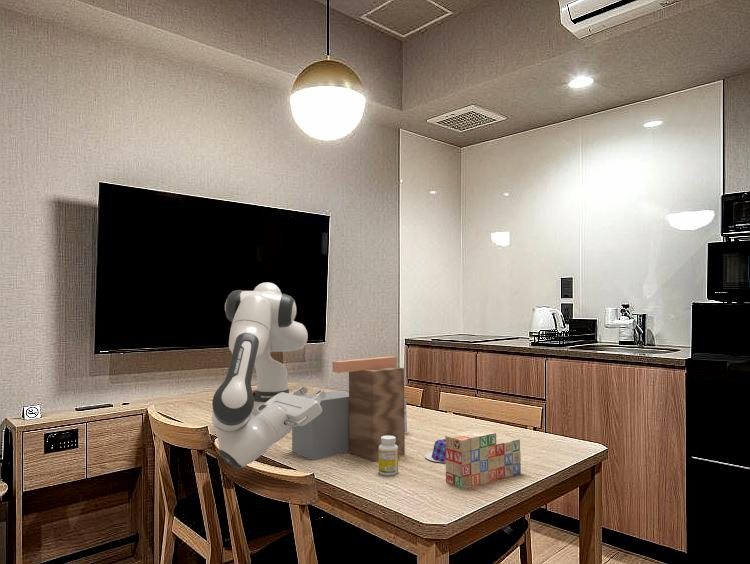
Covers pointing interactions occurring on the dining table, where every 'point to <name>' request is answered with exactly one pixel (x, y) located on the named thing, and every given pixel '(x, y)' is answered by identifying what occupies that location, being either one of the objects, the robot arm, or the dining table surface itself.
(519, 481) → the dining table surface
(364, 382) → the stand
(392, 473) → the supplement bottle
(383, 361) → the rail
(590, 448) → the dining table surface
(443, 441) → the pudding
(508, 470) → the stack of blocks
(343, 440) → the pedestal
